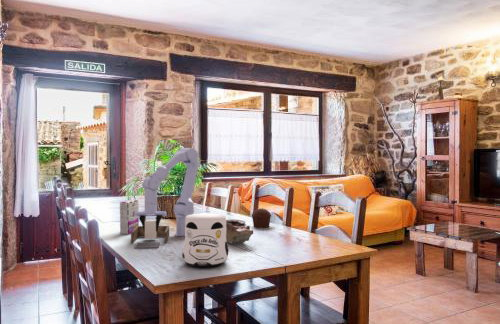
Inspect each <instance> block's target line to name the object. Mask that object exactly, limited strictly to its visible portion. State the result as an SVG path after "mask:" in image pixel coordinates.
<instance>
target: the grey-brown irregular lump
mask: <svg viewBox="0 0 500 324" xmlns="http://www.w3.org/2000/svg"><path fill="white" fill-rule="evenodd" d="M252 235H254V230H253V229H251V226H250V225H248V224H246V221H245V220H241V219H226V241H227V243H230V244H243V243H246V242H248V241H249V240H250V238H251V236H252Z"/></svg>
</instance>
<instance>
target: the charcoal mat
mask: <svg viewBox="0 0 500 324" xmlns="http://www.w3.org/2000/svg"><path fill="white" fill-rule="evenodd" d="M160 245H161V242H156V241H155V242H153V241H152V242H137V243H136V245H135V246H134V249H136V250H137V249H140V250H141V249H144V250H145V249H159V247H160Z"/></svg>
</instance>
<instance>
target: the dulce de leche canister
mask: <svg viewBox="0 0 500 324" xmlns="http://www.w3.org/2000/svg"><path fill="white" fill-rule="evenodd" d="M226 220H227V217H226V215H224V214H220V213H205V212H203V213H193V214H191V215H187V216H186V218H185V236H184V243H183V246H182V259H183V261H184V262H185V263H186V264H187V265H189V266H193V267H199V268H209V267H216V266H220V265H223V264H224V263H225V262H227V260H228V257H229V244H228V242H227V241H226Z"/></svg>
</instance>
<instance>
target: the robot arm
mask: <svg viewBox="0 0 500 324" xmlns="http://www.w3.org/2000/svg"><path fill="white" fill-rule="evenodd" d="M181 162H182V163H183V164H184V165H185V166H186V172H185V175H184V181H183V185H182V188H181V189H182V190H181V193H180V197H179V198H178V199H177V200H176V203H175V205H174V206H173V213H174V214H175V217H176V220H175V221H176V222H175V223H176V224H175V225H176V226H175V228H176V229H175V230H176V231H175V234H174V236H175V237H185V218H186V216H187V215H191V214H194V213H195V209H194V201H193V200H192V197H193V191H194V188H195V183H196V178H197V174H198V170H199V153H198V151H197V149H196V148H194V147H187V148H186V147H180V148H179V149H178V150H176V151H175V153H174V155H172V157H171V158H170V159H169V160H168V161H167V162H166V163H165V165H161V166H158V167H156V169H155V170H154V171H153V172H152V173H150V174H149V177H145V178H144V179H143V181H142V183H141V185H142V188H143V191H144V211H138V212H135V217H136V216H138V217H139V218H138V220H140V221H139V222H140V223H141V226H143V230H144V232H145V221H146V220H147V219H146V218H147V217H155V220H156V232H157V231H158V226H160V222H161V220H162V218H163V217H166V216H167V211H161V210H159V211H158V189H159V188H160V185H161V183H162V182H163V181H164V180H165V179H166V178H167V177H168V176H169V173H170V171H171V170H172V169H173V168H175V167H176V166H177V164H179V163H181Z"/></svg>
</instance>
